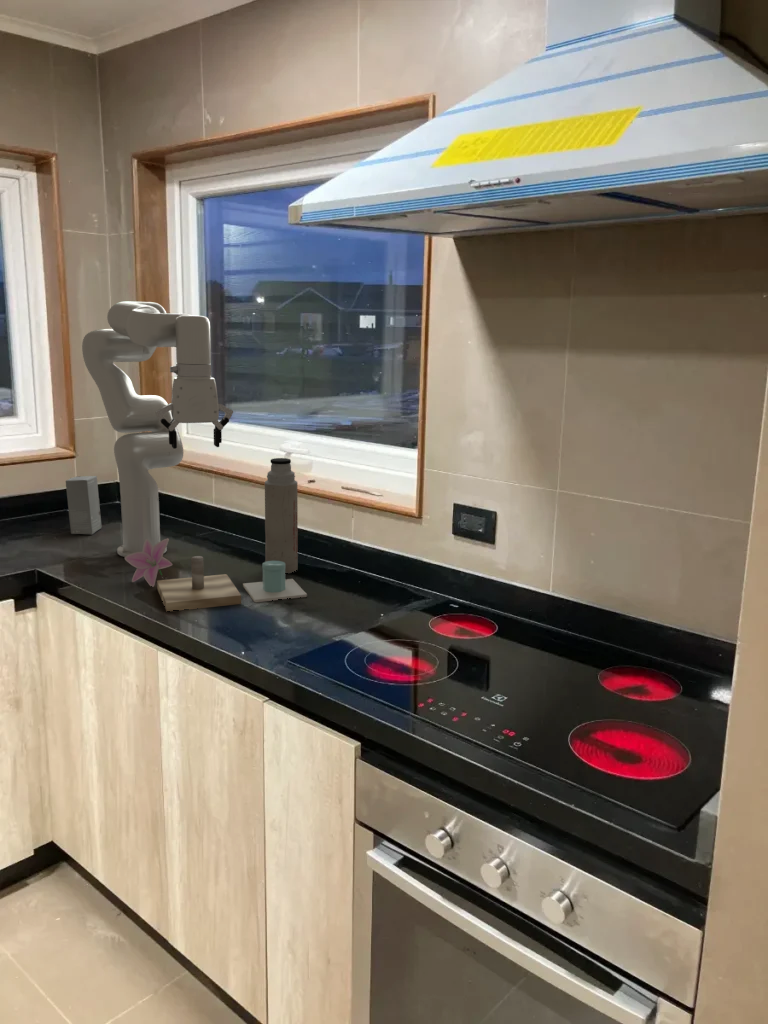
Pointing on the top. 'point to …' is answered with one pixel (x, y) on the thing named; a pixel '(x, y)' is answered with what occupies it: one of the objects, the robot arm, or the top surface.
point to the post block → (198, 590)
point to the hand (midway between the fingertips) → (195, 446)
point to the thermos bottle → (281, 515)
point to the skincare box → (83, 504)
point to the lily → (149, 561)
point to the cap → (273, 576)
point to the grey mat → (260, 595)
